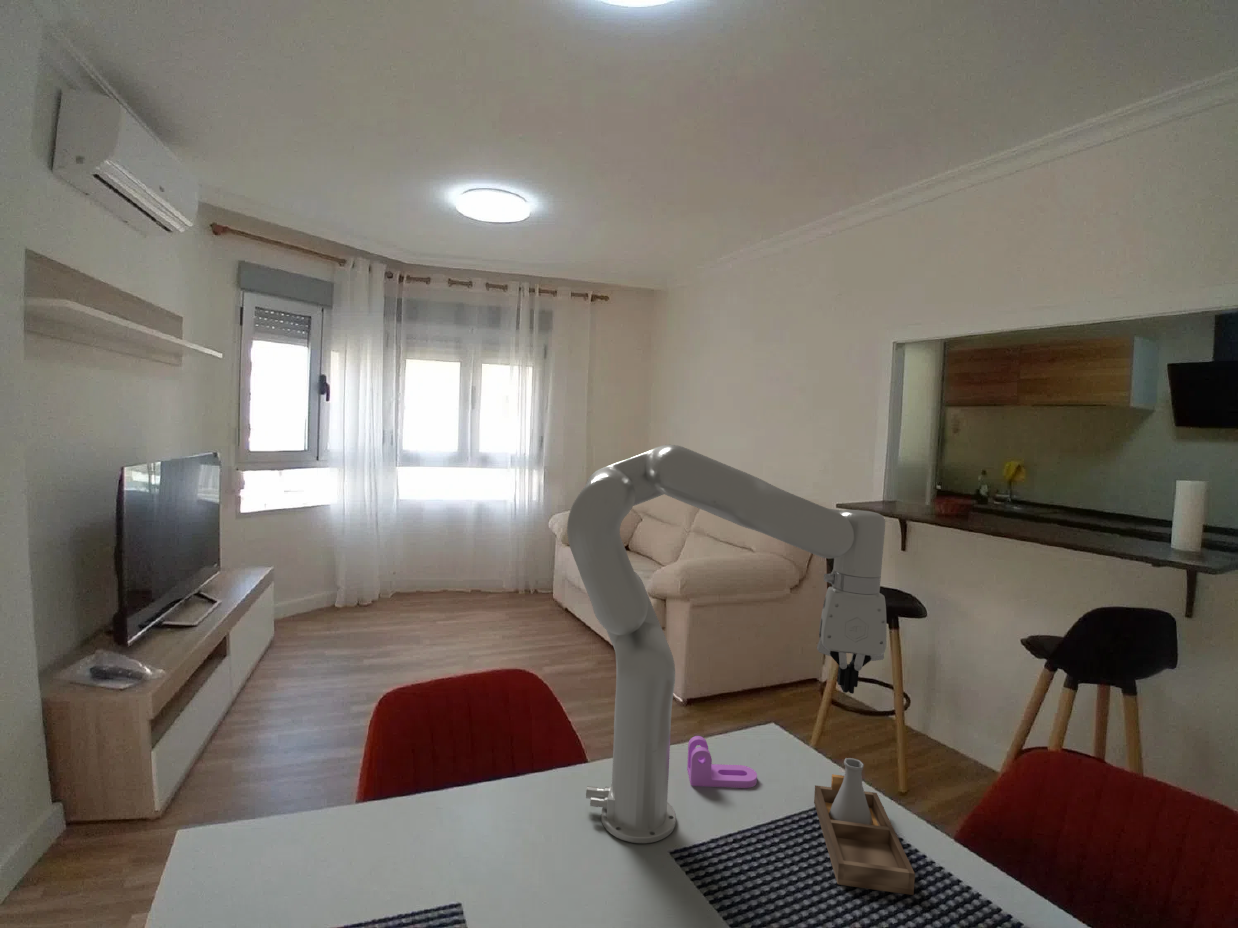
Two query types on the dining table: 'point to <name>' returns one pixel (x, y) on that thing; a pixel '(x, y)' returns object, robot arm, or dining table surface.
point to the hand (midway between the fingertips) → (846, 689)
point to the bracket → (715, 769)
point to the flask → (851, 796)
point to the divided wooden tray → (864, 846)
